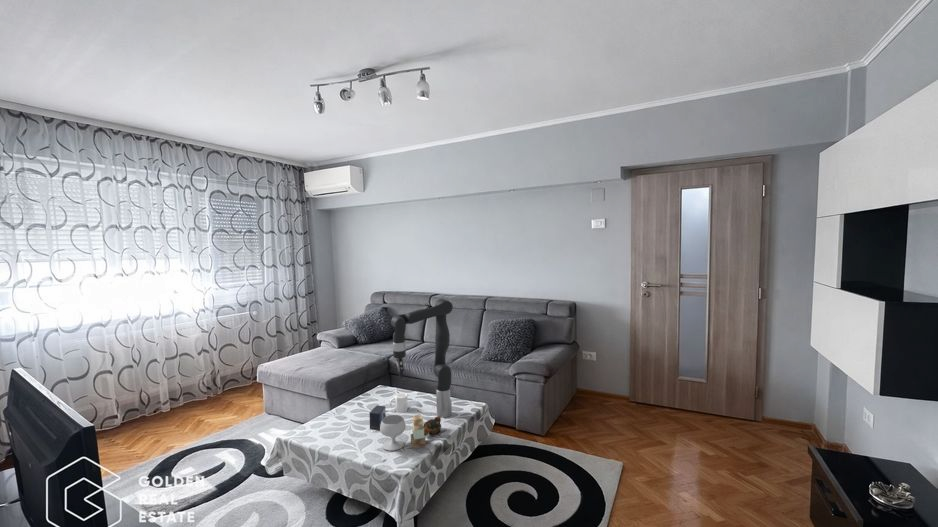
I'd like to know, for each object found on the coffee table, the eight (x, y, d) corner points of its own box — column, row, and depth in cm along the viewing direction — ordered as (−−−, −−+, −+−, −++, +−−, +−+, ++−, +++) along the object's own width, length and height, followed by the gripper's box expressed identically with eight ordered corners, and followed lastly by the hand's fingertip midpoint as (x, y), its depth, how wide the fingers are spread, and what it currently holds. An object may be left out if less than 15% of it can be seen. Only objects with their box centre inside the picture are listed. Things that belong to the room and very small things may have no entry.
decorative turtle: (446, 428, 233) (445, 416, 232) (432, 442, 220) (431, 429, 219) (432, 424, 238) (432, 412, 237) (418, 437, 225) (417, 424, 224)
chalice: (411, 444, 216) (410, 418, 215) (391, 455, 206) (390, 428, 205) (396, 436, 226) (395, 411, 225) (375, 446, 215) (374, 420, 214)
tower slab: (423, 440, 221) (422, 431, 221) (425, 446, 214) (425, 437, 214) (410, 442, 219) (410, 434, 218) (413, 449, 212) (412, 440, 212)
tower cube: (422, 433, 219) (422, 424, 219) (424, 437, 214) (423, 429, 214) (412, 434, 218) (412, 426, 217) (414, 439, 212) (414, 430, 212)
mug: (407, 406, 266) (406, 392, 265) (408, 411, 257) (407, 397, 256) (389, 408, 263) (388, 394, 262) (389, 413, 254) (389, 399, 254)
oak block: (421, 424, 218) (421, 414, 218) (423, 428, 214) (422, 418, 213) (412, 426, 217) (412, 416, 217) (414, 430, 212) (414, 419, 212)
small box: (379, 430, 233) (378, 413, 233) (369, 429, 235) (368, 412, 234) (386, 421, 244) (385, 405, 243) (376, 421, 245) (376, 405, 244)
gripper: (407, 351, 229) (408, 378, 230) (403, 345, 242) (404, 370, 243) (394, 353, 226) (395, 380, 228) (391, 346, 240) (392, 372, 241)
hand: (400, 375), depth 236 cm, fingers open, 8 cm apart
